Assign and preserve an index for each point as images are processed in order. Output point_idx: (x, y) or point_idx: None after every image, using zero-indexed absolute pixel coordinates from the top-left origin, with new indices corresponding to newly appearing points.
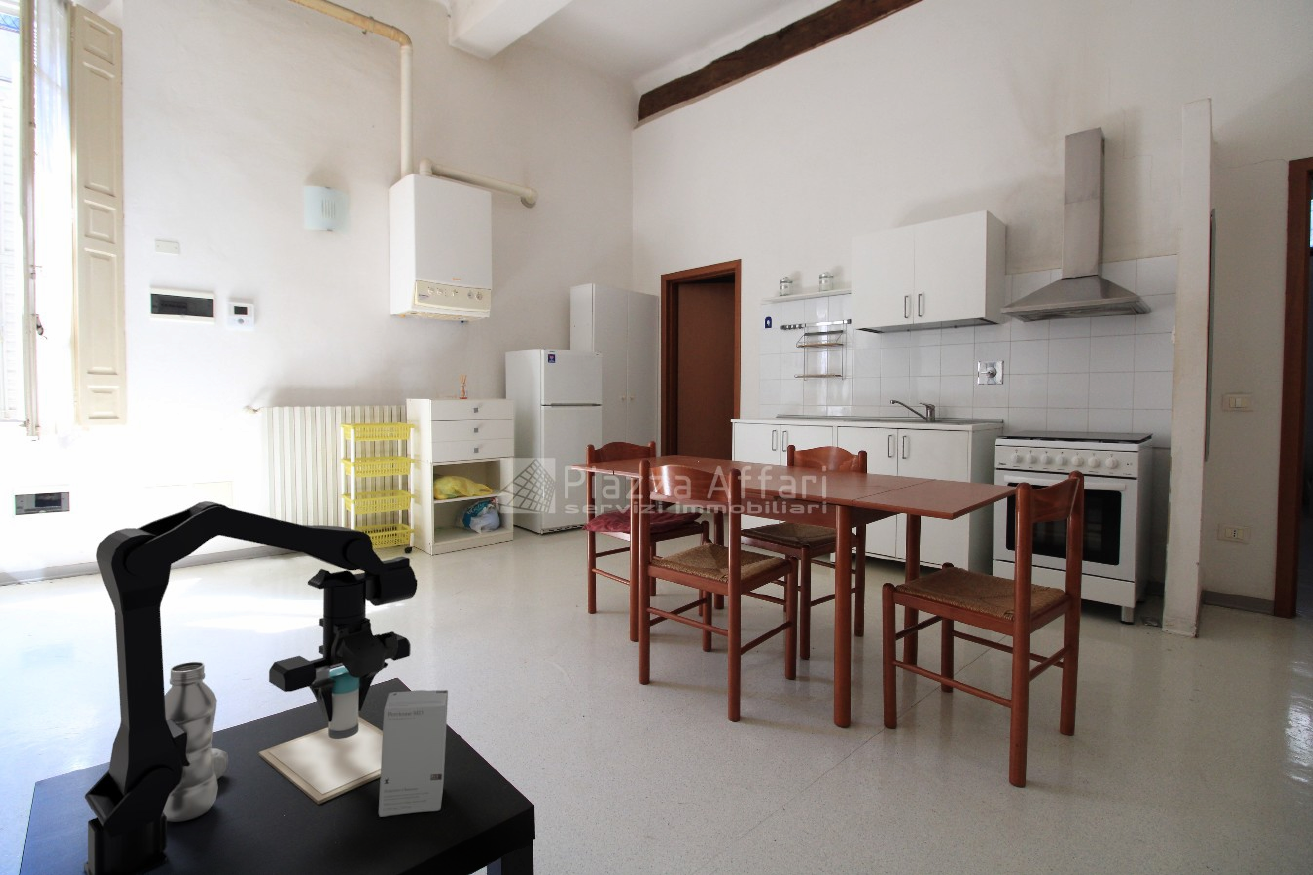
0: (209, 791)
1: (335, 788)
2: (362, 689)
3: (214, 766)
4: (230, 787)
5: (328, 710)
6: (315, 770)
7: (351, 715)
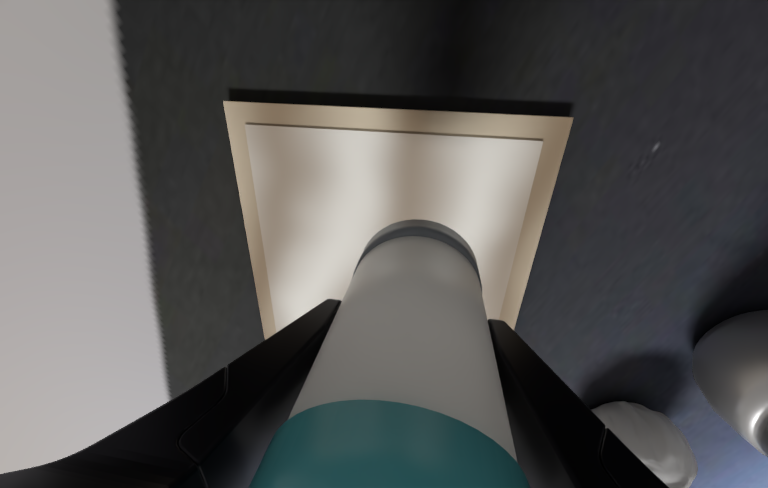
0: None
1: (499, 139)
2: (269, 386)
3: (648, 433)
4: (608, 362)
5: (540, 366)
6: None
7: (409, 268)
